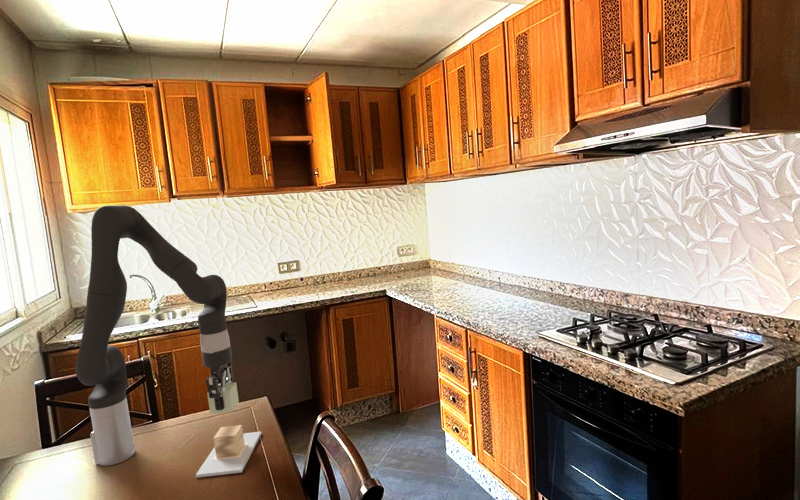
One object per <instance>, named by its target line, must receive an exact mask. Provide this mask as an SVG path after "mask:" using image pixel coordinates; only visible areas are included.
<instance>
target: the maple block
mask: <svg viewBox="0 0 800 500" xmlns="http://www.w3.org/2000/svg"><path fill="white" fill-rule="evenodd" d="M243 433H244V431H243V424H238V425H237V424H236V425H229V426H220V428H219V430H218V431H217V432H216V434H215V435H214V436H213V443H214V444H213V445H214V447H215V452H216V458H222V457H231V456H238V455H239V453H240V451H241V450H242V448H243V446H244V436H243Z"/></svg>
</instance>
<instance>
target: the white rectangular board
mask: <svg viewBox="0 0 800 500" xmlns="http://www.w3.org/2000/svg"><path fill="white" fill-rule="evenodd" d="M261 435H262V431H253V432H252V431H251V432H245V433H244V432H243V436H244V446H243V448H242V450H241V451H240V453H239V455H238V456H231V457H222V458H216V452H215V446H214V447H213V448H212V450H211V452H209V454H208V456H207V457H206V458H205V461H204V462H203V463H202V465H201V466H200V468H199V469H198V471H197V472H196V474H195V478H205V477H215V476H223V475H231V474H240V473H243V470H244V469H245V467H246V465H247V463H248V461H249V459H250V457H251V455H252V454H253V452H254V449H255V447H256V445H257V444H258V441H259V440H260V438H261Z"/></svg>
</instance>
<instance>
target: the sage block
mask: <svg viewBox="0 0 800 500" xmlns="http://www.w3.org/2000/svg"><path fill="white" fill-rule="evenodd" d="M218 385H221V384H218ZM219 390H220V389H219ZM206 394H207V401H208V408H209V414H210V415H215V414H224V413H231V412H233V411H234V410H235V409H236V407H237V405H238V404H239V403H240V400H239V393H238V387H237V382H235V381H234V382H231V383H226V384H225V387H224V388H223V400H224V409H223V410H216V408H215V401H214V398H210V397H209V393H208V392H207V393H206Z"/></svg>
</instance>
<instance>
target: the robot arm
mask: <svg viewBox="0 0 800 500" xmlns="http://www.w3.org/2000/svg"><path fill="white" fill-rule="evenodd" d="M90 230H91V257H90V258H91V259H90V268H89V269H90V270H89V271H90V272H89V279H88V280H89V281H88V286H87V293H86V295H87V296H86V306H85V313H84V314H85V315H84V321H83V329H82V336H81V341H80V345H79V349H78V353H77V356H76V359H75V360H76V361H75V375H76V377H77V379H78V381H79V382H80V383H81V384H83V385H84V386H87V387H89V386H90V387H92V386H94V388H93V390H92V392H91V394H90V395H89V396H88V398H87V402H88V403H87V404H88V407H89V408H88V409H89V414H90V419H91V425H92V426H91V427H92V431H91V432H90V435H89V436H90V441H91V447H92V451H93V459H94V464H95V465H100V466H102V467H104V466H105V467H108V466H113V465H116V464H120V463H122V462H125V461H126V460H128V459H130V458H132V457H133V456H134V455H135V453H136V447H135V442H134V436H133V429H132V424H131V417H130V410H129V405H128V399H127V398H128V397H127V393H126V392H127V390H128V389H127V388H128V378H127V377H128V375H127V367H126V361H125V357H124V355H123V353H122V351H121V349H119V348H118V347H116V346H115V345H111V344H109V341H110V338H111V335H112V333H113V331H114V329H115V328H116V325H117V324H118V322H119V320H120V318H121V316H122V314H123V312H124V310H125V307H126V306H125V305H126V299H127V293H128V290H127V289H128V284H127V283H128V282H127V279H126V276H125V274H124V272H123V269H122V267H121V265H120V262H119V247H120V246H119V245H120V241H121V239H130V240H132V241H134V242H135V243H137V244H138V245H140V246H141V247H142V248H143V249H145V250H146V252H147V254H148V255H149V257H150V259H151V261H152V262H153V264H154V266H155V267H156V268H158V270H160V271H161V272H162V273H163V274H165V275H166V276H167V277H169V278H170V280H173V281H174V282H175V283H176V284H177V285H178V287H179V289H180V290H181V291H182V292H183V294H185V296H186V297H187V298H188V299H189V300H190V301H192V302H193V303H196V304H199V305H203V309H202V310H201V312H200V313H199V314H198V316H197V321H198V330H199V336H200V337H199V338H200V340H199V342H200V350H201V357H202V362H203V363H202V364H203V367H205V368H208V369H210V370H209V371H210V373H209V377H206V378H205V382H206V383H205V384H206V387H207V393H209V397H210V398H214V401H215V408H216V410H223V409H224V400H223V388H224V387H225V384H226V383H232V382H234V372H233V354H232V347H231V340H230V334H229V332H228V327H227V326H228V325H227V320H226V308H227V295H228V293H227V292H228V291H227V290H228V289H227V285H226V283H225V281H224V279H223V278H222V277H221V276H220V275H219V274H208V275H205V276H203V277H202V276H201V275H199V274H198V265H197V264H196V263H195V262H194V261H193V260H192V259H190V258H189V257H188V256H186V255H185V254H184V253H183V252H182V251H180V250H179V249H177V248H176V247H174V246H173V245H172V244H171V243H170V242H169V241H168V240H166V239H165V238H164V237H163V236H162V235H161V234H160V233H159V232H158V231H157V229H155V228H154V226H153V225H151V223H150V222H149V221H148V220H147V219H146V218H145V217H144V216H143V215H142V214H141V213H140V212H139V211H138V210H137V209H136V208H134V207H133V206H129V205H108V204H107V205H101V206H100V207H98V208H96V210H95V211H94V213H93V216H92V219H91V228H90ZM218 384H221V385H218ZM219 389H220V390H219Z"/></svg>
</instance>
